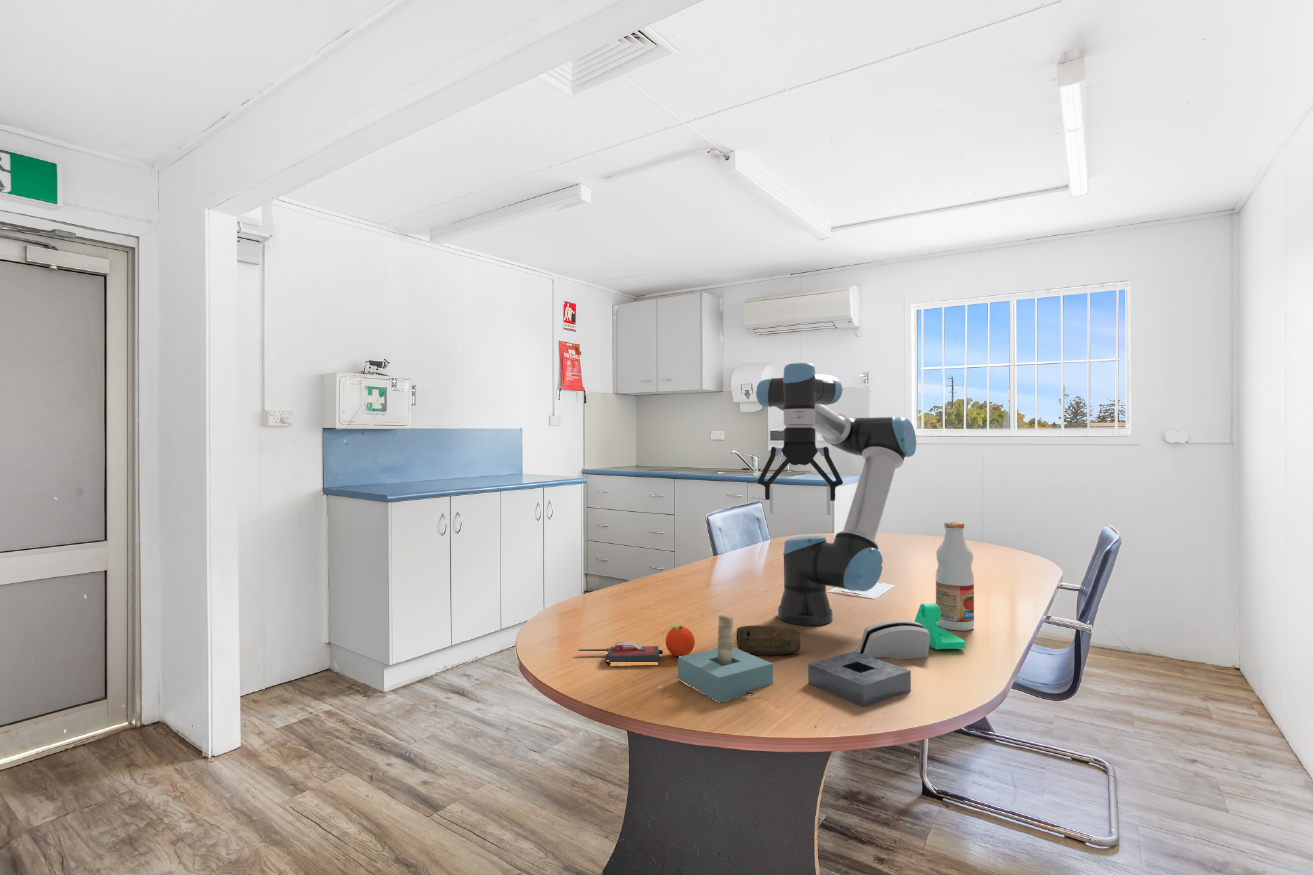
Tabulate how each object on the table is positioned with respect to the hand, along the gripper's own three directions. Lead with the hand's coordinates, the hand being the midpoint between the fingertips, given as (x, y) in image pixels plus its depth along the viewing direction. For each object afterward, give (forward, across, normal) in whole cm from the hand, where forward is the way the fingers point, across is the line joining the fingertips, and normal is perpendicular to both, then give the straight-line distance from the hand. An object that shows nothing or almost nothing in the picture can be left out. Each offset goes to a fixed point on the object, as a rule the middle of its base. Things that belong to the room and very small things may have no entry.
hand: (799, 514), depth 157 cm
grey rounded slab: (+33, +21, -3) cm, 39 cm away
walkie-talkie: (+33, -41, -17) cm, 55 cm away
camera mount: (+33, +33, +10) cm, 48 cm away
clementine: (+33, -28, -11) cm, 45 cm away
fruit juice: (+33, +41, +27) cm, 59 cm away
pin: (+32, -16, -27) cm, 44 cm away
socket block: (+33, -16, -27) cm, 45 cm away
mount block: (+33, +11, -26) cm, 43 cm away
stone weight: (+33, -8, -6) cm, 34 cm away
